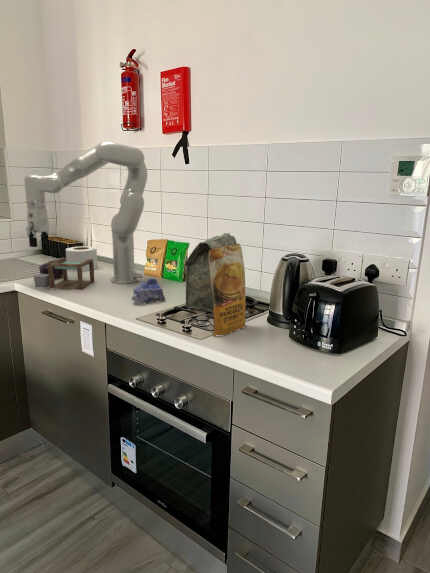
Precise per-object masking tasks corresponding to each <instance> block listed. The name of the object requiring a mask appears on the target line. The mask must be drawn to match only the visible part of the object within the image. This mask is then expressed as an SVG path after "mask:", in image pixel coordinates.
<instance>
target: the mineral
mask: <svg viewBox="0 0 430 573" xmlns="http://www.w3.org/2000/svg"><path fill="white" fill-rule="evenodd" d="M132 293H133V295H132V296H131V300H132V301H134V303H135V302H136V303H137V304H142V303H145V304H149V303H152V302H165V301H166V297H165V295H164V291H163V288H162V286H161V285H160V284H159V282H158V280H157V279H156V278H155V277H151V278H150V277H149V278H147V279H146V281H140V282H139V283H138V284H137V285H135V287H134V288H133V292H132Z"/></svg>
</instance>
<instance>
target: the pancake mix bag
mask: <svg viewBox="0 0 430 573" xmlns="http://www.w3.org/2000/svg"><path fill="white" fill-rule="evenodd" d="M242 250H243V249H242V245H241V244H240V243H237V244H233V245H227V246H220V247H216V248H212V249H210V251H209V252H208V264H209V271H210V286H211V290H212V295H213V312H214V313H213V312H212V313H213V327H212V332H211V333H212V334H213V335H212V337H217V336H216V335H224V336H227V335H226V334H228V335H230V334H232V333H231V332H233V333H235V332H237V331H236V330H238V329H241V328H243V327H245V328H246V273H245V272H246V270H245V261H244V257H243V251H242ZM243 329H244V328H243ZM241 330H242V329H241ZM234 331H235V332H234ZM238 331H239V330H238ZM229 333H230V334H229Z"/></svg>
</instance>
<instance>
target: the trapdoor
mask: <svg viewBox="0 0 430 573" xmlns="http://www.w3.org/2000/svg"><path fill="white" fill-rule="evenodd" d="M80 263H82V262H67V260H66V262H64V263H62V264H80ZM86 265H88V264H86ZM86 265H84V266H86ZM84 266H82V267H84ZM55 269H74V270H77V267H61V266H55Z"/></svg>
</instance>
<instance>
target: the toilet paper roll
mask: <svg viewBox="0 0 430 573" xmlns="http://www.w3.org/2000/svg"><path fill="white" fill-rule="evenodd" d="M97 250H98V249H97V247H95V246H88V245H85V246H84V245H83V246H81V245H79V246H72V247H67V248H65V258H66V261H72V262H84V261H86V260H88V259H93V262H94V271H95V270H97V269H98V268H99V267H98V266H99V264H98V253H97V252H98V251H97ZM67 271H69V272H77V270H74V269H67ZM88 271H89V272H90V270H89V264H88V265H86V266H84V267H82V272H88Z"/></svg>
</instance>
